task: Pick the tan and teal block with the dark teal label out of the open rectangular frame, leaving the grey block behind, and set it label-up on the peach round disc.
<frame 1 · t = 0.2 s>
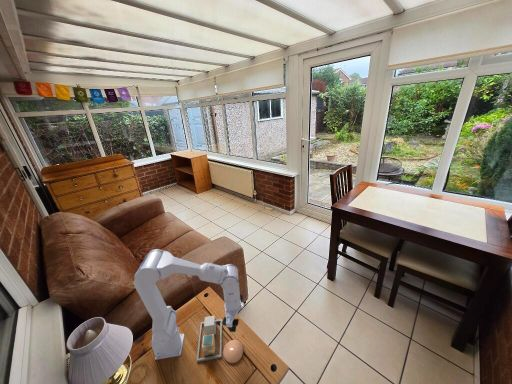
hand: (234, 321, 79), 10 cm above the table, tool pointing down, fingers open, 7 cm apart
grey block: (211, 330, 86), resting in open rectangular frame
open rectangular frame: (210, 339, 83), on the table
tan and teal block: (209, 349, 79), resting in open rectangular frame
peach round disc: (233, 351, 78), on the table
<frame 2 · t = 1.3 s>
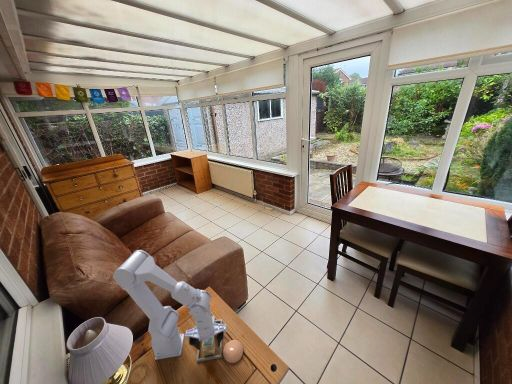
hand: (209, 345, 78), 3 cm above the table, tool pointing down, fingers open, 7 cm apart
nothing on the table moved.
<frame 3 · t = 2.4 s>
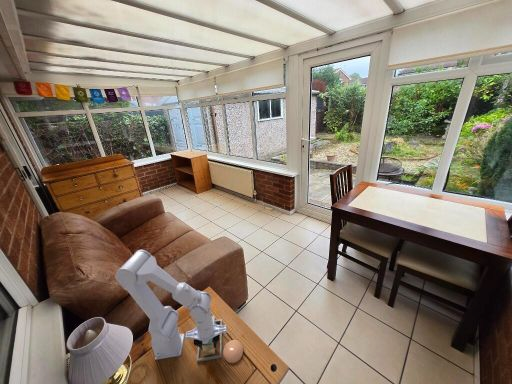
hand: (209, 346, 78), 2 cm above the table, tool pointing down, fingers closed on tan and teal block, 4 cm apart
tan and teal block: (209, 349, 79), resting in open rectangular frame, touching gripper
everything else where it was.
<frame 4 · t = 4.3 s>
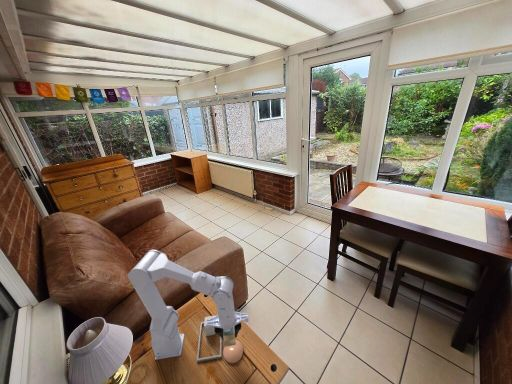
hand: (229, 335, 74), 10 cm above the table, tool pointing down, fingers closed on tan and teal block, 4 cm apart
tan and teal block: (230, 340, 75), point 7 cm above the table, touching gripper
everything else where it was.
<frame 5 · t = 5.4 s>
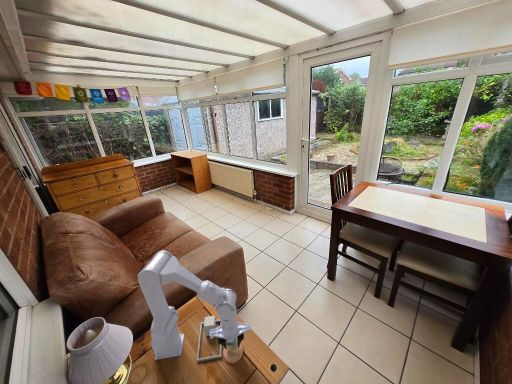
hand: (232, 345, 76), 4 cm above the table, tool pointing down, fingers closed on tan and teal block, 4 cm apart
tan and teal block: (233, 349, 77), point 2 cm above the table, touching gripper
everything else where it was.
when the fingers open (4 cm above the table, at t = 6.2 s): tan and teal block stays where it is, resting on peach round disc.
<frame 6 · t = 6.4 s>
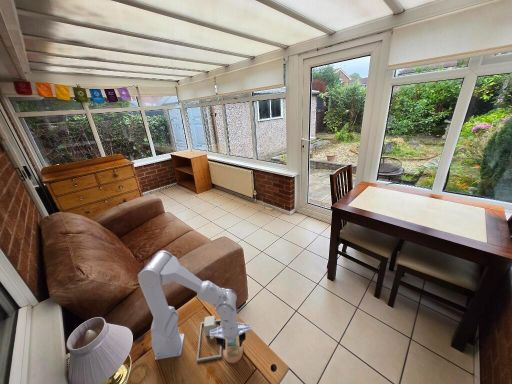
hand: (232, 345, 77), 4 cm above the table, tool pointing down, fingers open, 5 cm apart
tan and teal block: (233, 350, 78), point 1 cm above the table, touching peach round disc
everything else where it was.
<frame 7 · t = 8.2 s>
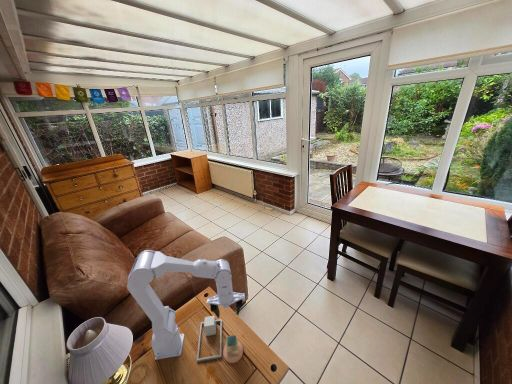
hand: (228, 314, 82), 9 cm above the table, tool pointing down, fingers open, 7 cm apart
nothing on the table moved.
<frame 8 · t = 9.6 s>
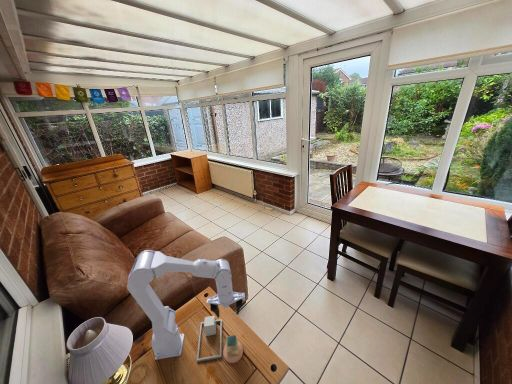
hand: (228, 313, 82), 9 cm above the table, tool pointing down, fingers open, 7 cm apart
nothing on the table moved.
at the end: tan and teal block 0.1 cm off-centre on the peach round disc, point 1.0 cm above the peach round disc's base; tan and teal block tilted 0°; grey block moved 0.1 cm from its start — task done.
